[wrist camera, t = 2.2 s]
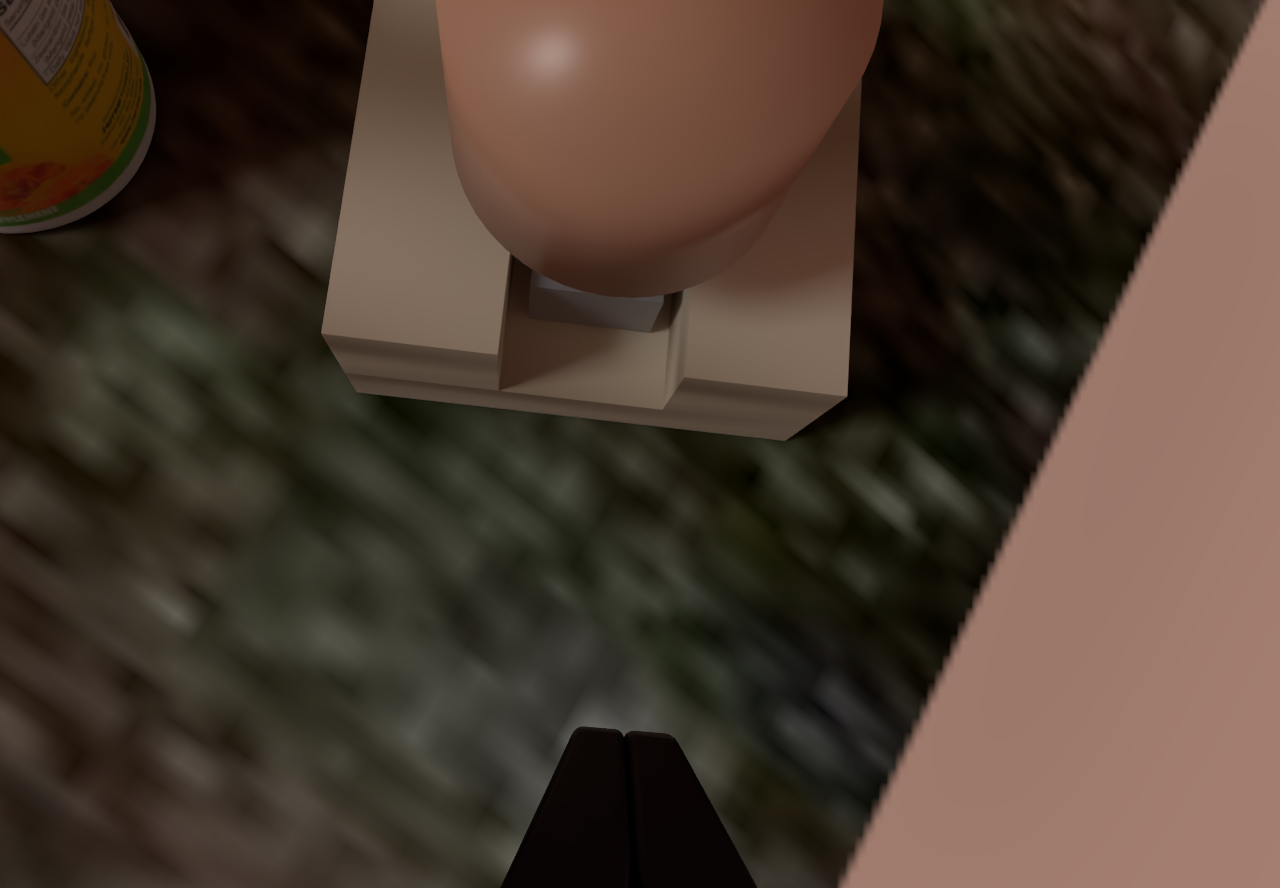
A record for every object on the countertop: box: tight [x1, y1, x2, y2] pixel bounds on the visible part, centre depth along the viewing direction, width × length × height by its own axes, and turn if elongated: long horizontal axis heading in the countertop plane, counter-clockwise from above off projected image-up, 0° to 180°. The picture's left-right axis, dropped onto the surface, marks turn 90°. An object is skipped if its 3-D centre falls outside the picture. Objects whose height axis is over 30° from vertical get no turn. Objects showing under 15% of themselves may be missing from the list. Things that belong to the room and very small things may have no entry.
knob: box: [436, 0, 883, 333], centre depth 16 cm, size 5×5×9 cm
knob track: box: [321, 0, 862, 441], centre depth 20 cm, size 9×9×4 cm
